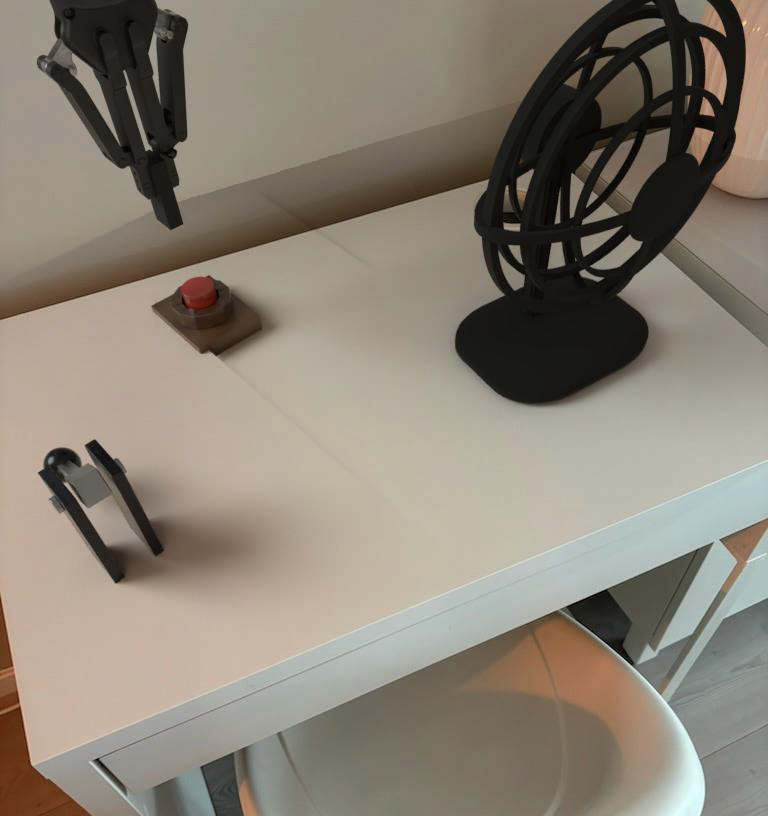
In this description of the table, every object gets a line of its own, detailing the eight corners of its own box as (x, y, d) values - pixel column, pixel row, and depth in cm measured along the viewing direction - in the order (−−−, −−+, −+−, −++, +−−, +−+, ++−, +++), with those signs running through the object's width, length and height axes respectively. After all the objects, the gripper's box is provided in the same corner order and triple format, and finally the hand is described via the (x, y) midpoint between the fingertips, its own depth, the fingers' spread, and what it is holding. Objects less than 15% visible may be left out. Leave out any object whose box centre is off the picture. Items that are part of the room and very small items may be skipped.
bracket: (57, 548, 69) (-9, 458, 59) (141, 494, 72) (93, 400, 62) (122, 634, 63) (63, 553, 53) (211, 572, 67) (171, 483, 56)
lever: (53, 486, 68) (32, 456, 67) (84, 467, 70) (65, 438, 68) (85, 516, 58) (61, 483, 56) (122, 494, 59) (99, 460, 58)
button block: (156, 321, 87) (145, 292, 84) (213, 289, 90) (205, 261, 87) (204, 363, 82) (194, 335, 79) (262, 329, 85) (256, 301, 82)
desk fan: (503, 453, 73) (554, 73, 45) (405, 351, 82) (394, -18, 54) (704, 344, 81) (856, -40, 52) (594, 262, 90) (672, -103, 61)
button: (178, 299, 83) (174, 286, 82) (205, 285, 85) (202, 272, 83) (196, 314, 82) (192, 301, 80) (223, 299, 83) (220, 286, 82)
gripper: (19, -29, 51) (131, 267, 70) (182, -82, 55) (245, 209, 75) (-25, -56, 54) (93, 233, 73) (131, -103, 59) (204, 180, 78)
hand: (170, 221), depth 74 cm, fingers closed
